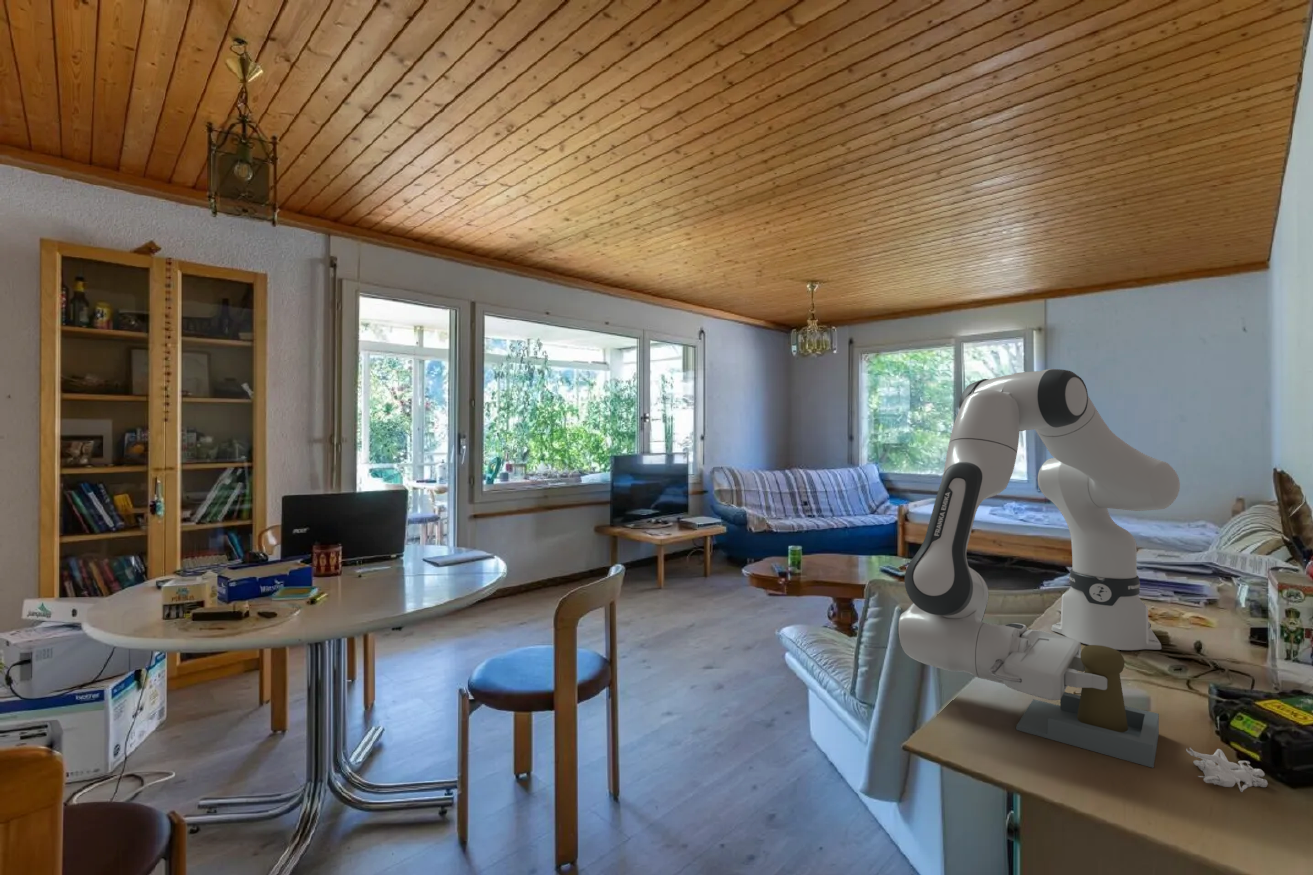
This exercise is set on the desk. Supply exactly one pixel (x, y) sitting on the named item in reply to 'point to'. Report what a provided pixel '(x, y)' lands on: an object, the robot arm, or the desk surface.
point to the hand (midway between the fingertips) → (1109, 677)
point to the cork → (1098, 703)
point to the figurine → (1227, 771)
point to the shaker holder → (1094, 730)
